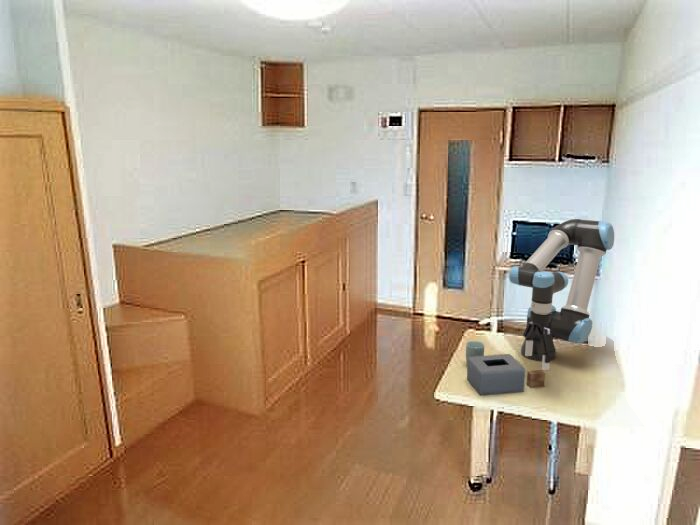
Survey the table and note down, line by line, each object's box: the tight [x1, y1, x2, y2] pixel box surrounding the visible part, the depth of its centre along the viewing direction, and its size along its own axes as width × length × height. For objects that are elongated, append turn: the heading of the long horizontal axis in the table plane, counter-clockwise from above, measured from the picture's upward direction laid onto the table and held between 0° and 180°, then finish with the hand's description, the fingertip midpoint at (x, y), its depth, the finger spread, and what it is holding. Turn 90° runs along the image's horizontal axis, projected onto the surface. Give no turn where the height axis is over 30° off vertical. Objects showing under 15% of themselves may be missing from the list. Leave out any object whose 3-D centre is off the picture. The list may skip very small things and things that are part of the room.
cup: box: [465, 340, 485, 365], centre depth 225 cm, size 8×8×10 cm
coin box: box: [466, 353, 526, 397], centre depth 207 cm, size 18×14×10 cm
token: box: [526, 369, 546, 389], centre depth 207 cm, size 6×3×6 cm, turn 98°
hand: (536, 362), depth 205 cm, fingers open, 13 cm apart
